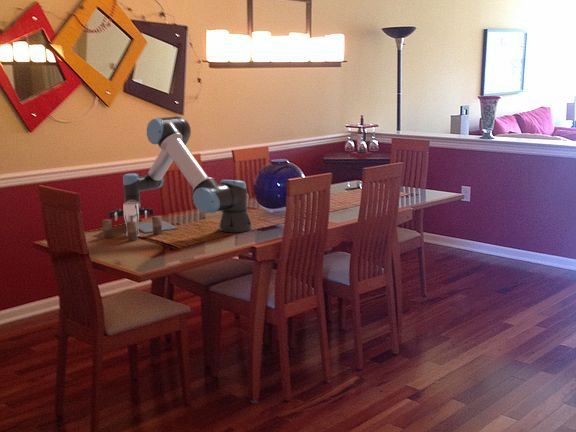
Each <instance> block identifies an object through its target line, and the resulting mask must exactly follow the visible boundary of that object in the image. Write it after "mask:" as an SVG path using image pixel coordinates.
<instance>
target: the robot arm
mask: <svg viewBox="0 0 576 432" xmlns="http://www.w3.org/2000/svg"><path fill="white" fill-rule="evenodd" d="M191 134H192V131H191V126H190V123H189V122H188V120H187V119H185V118H184V117H182V116H177V115H176V116H168V117H156V118H153V119H151V120H149V122H148V123H147V126H146V137H147V140H148V142H149V143H150V144H152V145H157V146H158V147H159V149H161V150H160V152H159V153H158V155H157V157H156V158H155V161H154V162H153V164H152V165H151V166H150V169H149V170H148V172H147V174H145V175H140V176H139V174H138V173H126V174H124V175H123V176H122V177H123V178H122V182H123V183H122V184H123V192H124V195H123V196H124V203H128V202H137V203H138V207H139V216H144V218H145V220H146V219H147V218H148V217H149V216H153V215H154V209H152V208H149V207H145V206H144V207H142V208H141V205H142V204H141V203H142V202H141V198H140V197H141V195H140V194H141V193H140V192H144V191H149V190H156V189H160V188H162V187H163V185H164V176H165V174H166V172H168V170H169V168H170V166H171V165H172V163H173V162H174V164H175V165H176V166H177V168H178V169H179V170H180V172H181V174H182V175H183V176H184V178H185V179H186V180H187V182H188V183H189V184H190V186H191V188H192V192H191V193H192V200H193V201H192V202H193V203H192V204H193V205H194V207H195V208H196V210H197V211H199V212H201V213H202V214H214V213H216V212H220V211H221V217H220V220H219V223H218V231H220V232H224V233H240V232H243V233H244V232H247V231H251V230H252V227H253V226H252V222H251V219H250V216H249V212H248V201H247V194H248V191H247V190H248V189H247V184H246V182H245V181H243V180H240V179H236V180H235V179H221V180H220V182H219V183H220V184H218V183H217V181H216V179H215V178H214V177H209V176H208V174H207V173H206V172H205V171H204V169H203V167H202V166H201V165H200V164H199V162H198V160H197V159H196V157H195V156H194V155H193V154H192V152H191V151H190V150H189V148H188V147H187V143H188V141H189V140H190V137H191ZM122 216H123V217H124V213H123V208H122V209H121V208H117V209H114V210H112V211H109V212H108V218H109V219H111V218H112V219H113V220H114V221H118V218H119V217H122Z"/></svg>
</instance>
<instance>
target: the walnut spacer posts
mask: <svg viewBox="0 0 576 432" xmlns="http://www.w3.org/2000/svg"><path fill="white" fill-rule="evenodd" d="M161 221H162V216H161V215H154V216H153V215H152V216H151V222H152V224H153V232H152V235H153V234H154V236H159V234H160V235H162V234H163V231H162V226H161ZM112 222H113V221H112V219H111V218H109V219H108V218H106V219H105V218H104V219H102V234H103V239H112V238H113V237H114V236H113V235H114V234H113V225H112V224H113V223H112ZM126 232H127V234H128V237H127V241H128V242H134V241H135V242H137V240H138V236H137V230H136V222H134V221H132V222H127V228H126Z"/></svg>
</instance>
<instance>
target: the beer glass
mask: <svg viewBox="0 0 576 432" xmlns="http://www.w3.org/2000/svg"><path fill="white" fill-rule="evenodd" d="M122 207H123V208H122V209H123V213H124V216H123V219H124V223H125V226H126V229H127V222H132V221H134V222H136V230H137V237H140V234H141V233H140V230H139V229H138V224H140V223H139V222H140V215H139V207H138V203H137V202H128V203H125V202H123V206H122ZM125 234H126V235H125V236H126V237H127V238H128V234H127V231H126V233H125Z"/></svg>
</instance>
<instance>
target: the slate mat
mask: <svg viewBox="0 0 576 432" xmlns="http://www.w3.org/2000/svg"><path fill="white" fill-rule="evenodd" d="M161 226H162V232H165V230H167V231H172V230H173V229H174V230H178V229H179V227H178V226H175V225H173V224H171V223H169V222H167V221H166V220H161ZM138 229H139V232H142V233H144V234H150V233H152V234H153V224H152V221H151V222H142V223H139V224H138Z"/></svg>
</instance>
